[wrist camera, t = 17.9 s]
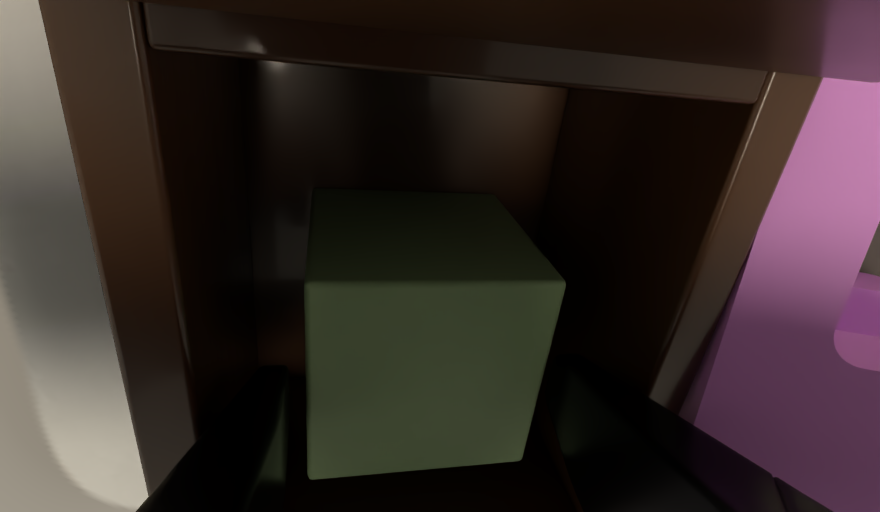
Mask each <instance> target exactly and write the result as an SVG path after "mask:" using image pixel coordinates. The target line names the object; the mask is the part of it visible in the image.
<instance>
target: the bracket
mask: <svg viewBox="0 0 880 512" xmlns="http://www.w3.org/2000/svg"><path fill="white" fill-rule="evenodd" d="M879 222H880V82H873V83H870V82H861V81H852V80H843V79H834V78H825V77H824V78H823V80H822V82H821V85H820V87H819V89H818V92H817V94H816V96H815V99H814V101H813V103H812V106H811V108H810V110H809V113H808V115H807V117H806V120H805V122H804V124H803V127H802V129H801V131H800V134H799V136H798V138H797V140H796V143H795V145H794V147H793V150H792V152H791V154H790V157H789V159H788V161H787V164H786V166H785V168H784V171H783V173H782V175H781V178H780V180H779V182H778V185H777V187H776V189H775V192H774V194H773V196H772V199H771V201H770V203H769V206H768V208H767V210H766V213H765V215H764V217H763V220H762V222H761V224H760V227H759V229H758V231H757V233H756V236H755V238H754V240H753V243H752V245H751V247H750V250H749V252H748V254H747V257H746V259H745V261H744V264H743V266H742V268H741V271H740V273H739V275H738V278H737V280H736V282H735V285H734V287H733V289H732V292H731V294H730V296H729V299H728V301H727V303H726V306H725V308H724V310H723V313H722V315H721V317H720V319H719V322H718V324H717V326H716V329H715V331H714V333H713V336H712V338H711V340H710V343H709V345H708V347H707V350H706V352H705V354H704V357H703V359H702V361H701V364H700V366H699V368H698V371H697V373H696V375H695V378H694V380H693V382H692V385H691V387H690V389H689V392H688V394H687V396H686V399H685V401H684V403H683V406H682V408H681V410H680V412H679V415H678V416H680V417H681V418H683V419H685V420H686V421H688V422H689V423H691V424H693V425H694V426H696V427H697V428H699V429H701V430H702V431H704V432H705V433H707V434H709V435H710V436H712V437H713V438H715V439H717V440H718V441H720V442H722V443H723V444H725V445H726V446H728V447H730V448H731V449H733V450H734V451H736V452H738V453H739V454H741V455H742V456H744V457H746V458H747V459H749V460H750V461H752V462H754V463H755V464H757V465H758V466H760V467H762V468H763V469H765V470H767V471H768V472H770V473H771V474H772V476H773V477H778V478H780V479H781V480H783V481H784V482H786V483H788V484H789V485H791V486H792V487H794V488H796V489H797V490H799V491H800V492H802V493H804V494H805V495H807V496H808V497H810V498H812V499H813V500H815V501H817V502H818V503H820V504H822V505H823V506H825V507H827V508H828V509H830V510H832V511H833V512H880V277H879V276H876V275H872V274H867V273H861V272H859V270H860V268H861V265H862V263H863V261H864V258H865V256H866V253H867V251H868V248H869V246H870V244H871V241H872V239H873V236H874V234H875V231H876V229H877V227H878V224H879Z"/></svg>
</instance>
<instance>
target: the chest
mask: <svg viewBox="0 0 880 512" xmlns="http://www.w3.org/2000/svg"><path fill="white" fill-rule="evenodd" d="M39 5H40V9H41V14H42V18H43V23H44V27H45V32H46V36H47V41H48V45H49V50H50V54H51V59H52V63H53V68H54V72H55V77H56V81H57V86H58V90H59V95H60V99H61V104H62V108H63V113H64V117H65V122H66V126H67V131H68V135H69V140H70V144H71V149H72V153H73V158H74V162H75V167H76V171H77V176H78V180H79V185H80V189H81V194H82V198H83V203H84V207H85V212H86V216H87V221H88V225H89V230H90V234H91V239H92V243H93V248H94V252H95V257H96V261H97V266H98V270H99V275H100V279H101V284H102V288H103V293H104V297H105V302H106V306H107V311H108V315H109V320H110V324H111V329H112V333H113V338H114V342H115V347H116V351H117V356H118V360H119V365H120V369H121V374H122V378H123V383H124V387H125V392H126V396H127V401H128V405H129V410H130V414H131V419H132V423H133V428H134V432H135V437H136V441H137V446H138V450H139V455H140V459H141V464H142V468H143V473H144V477H145V482H146V486H147V491H148V495H149V496H150V495H151V493H152V492H153V491H154V490H155V489H156V488H157V486H158V485H159V484H160V483H161V482H162V481H163V479H164V478H165V477H166V476H167V475H168V474H169V472H170V471H171V470H172V469H173V468H174V467H175V465H176V464H177V463H178V462H179V461H180V460H181V458H182V457H183V456H184V455H185V454H186V453H187V451H188V450H189V449H190V448H191V447H192V446H193V444H194V443H195V442H196V441H197V440H198V439H199V437H200V436H201V435H202V434H203V433H204V432H205V430H206V429H207V428H208V427H209V426H210V425H211V423H212V422H213V421H214V420H215V419H216V418H217V416H218V415H219V414H220V413H221V412H222V411H223V409H224V408H225V407H226V406H227V405H228V404H229V402H230V401H231V400H232V399H233V398H234V397H235V395H236V394H237V393H238V392H239V391H240V390H241V388H242V387H243V386H244V385H245V384H246V383H247V381H248V380H249V379H250V378H251V377H252V376H253V374H254V373H255V372H256V371H257V370H258V369H259V368H260V367H261V366H265V365H286V366H287V367H288V371H289V395H290V420H289V437H288V454H287V472H286V489H285V502H284V512H583V509H582V507H581V505H580V502H579V500H578V498H577V495H576V493H575V490H574V488H573V485H572V483H571V480H570V477H569V474H568V472H567V469H566V465H565V462H564V459H563V456H562V452H561V449H560V446H559V443H558V440H557V436H556V433H555V430H554V427H553V423H552V420H551V417H550V414H549V411H548V407H547V404H546V399H545V390H546V385H547V381H548V378H549V374H550V370H551V366H552V362H553V360H554V358H555V356H556V355H558V354H572V353H576V354H580V355H582V356H583V357H585V358H586V359H588V360H590V361H591V362H593V363H595V364H596V365H598V366H599V367H601V368H603V369H604V370H606V371H607V372H609V373H611V374H612V375H614V376H615V377H617V378H619V379H620V380H622V381H623V382H625V383H627V384H628V385H630V386H631V387H633V388H635V389H636V390H638V391H640V392H641V393H643V394H644V395H646V396H648V397H649V398H651V399H652V400H654V401H656V402H657V403H659V404H660V405H662V406H664V407H665V408H667V409H668V410H670V411H672V412H673V413H675V414H676V415H679V412H680V410H681V408H682V406H683V403H684V401H685V399H686V396H687V394H688V392H689V389H690V387H691V385H692V382H693V380H694V378H695V375H696V373H697V371H698V368H699V366H700V364H701V361H702V359H703V357H704V354H705V352H706V350H707V347H708V345H709V343H710V340H711V338H712V336H713V333H714V331H715V329H716V326H717V324H718V322H719V319H720V317H721V315H722V313H723V310H724V308H725V306H726V303H727V301H728V299H729V296H730V294H731V292H732V289H733V287H734V285H735V282H736V280H737V278H738V275H739V273H740V271H741V268H742V266H743V264H744V261H745V259H746V257H747V254H748V252H749V250H750V247H751V245H752V243H753V240H754V238H755V236H756V233H757V231H758V229H759V227H760V224H761V222H762V220H763V217H764V215H765V213H766V210H767V208H768V206H769V203H770V201H771V199H772V196H773V194H774V192H775V189H776V187H777V185H778V182H779V180H780V178H781V175H782V173H783V171H784V168H785V166H786V164H787V161H788V159H789V157H790V154H791V152H792V150H793V147H794V145H795V143H796V140H797V138H798V136H799V134H800V131H801V129H802V127H803V124H804V122H805V120H806V117H807V115H808V113H809V110H810V108H811V106H812V103H813V101H814V99H815V96H816V94H817V92H818V89H819V87H820V85H821V82H822V80H823V78H824V77H816V76H807V75H798V74H789V73H780V72H771V71H762V70H752V69H743V68H734V67H725V66H716V65H707V64H698V63H689V62H680V61H671V60H662V59H653V58H644V57H634V56H625V55H616V54H607V53H598V52H589V51H580V50H571V49H562V48H553V47H544V46H535V45H526V44H516V43H507V42H498V41H489V40H480V39H471V38H462V37H453V36H444V35H435V34H426V33H417V32H407V31H398V30H389V29H380V28H371V27H362V26H353V25H344V24H335V23H326V22H317V21H308V20H299V19H289V18H280V17H271V16H262V15H253V14H244V13H235V12H226V11H217V10H208V9H199V8H190V7H181V6H171V5H162V4H153V3H144V2H135V1H126V0H39ZM315 188H330V189H358V190H386V191H414V192H443V193H471V194H493V195H495V196H496V197H497V199H498V200H499V201H500V202H501V203H502V205H503V206H504V207H505V208H506V210H507V211H508V212H509V213H510V214H511V216H512V217H513V218H514V219H515V220H516V222H517V223H518V224H519V225H520V227H521V228H522V229H523V230H524V231H525V233H526V234H527V235H528V236H529V237H530V239H531V240H532V241H533V242H534V244H535V245H536V246H537V247H538V248H539V250H540V251H541V252H542V253H543V254H544V256H545V257H546V258H547V259H548V261H549V262H550V263H551V264H552V265H553V267H554V268H555V269H556V270H557V271H558V273H559V274H560V275H561V276H562V278H563V279H564V280H565V283H566V288H565V292H564V296H563V300H562V304H561V307H560V311H559V315H558V319H557V323H556V327H555V331H554V335H553V339H552V343H551V347H550V351H549V355H548V359H547V363H546V367H545V370H544V374H543V378H542V382H541V386H540V390H539V394H538V398H537V402H536V406H535V410H534V414H533V418H532V422H531V426H530V430H529V433H528V437H527V441H526V445H525V449H524V453H523V457H522V459H521V460H520V461H515V462H504V463H493V464H482V465H471V466H460V467H448V468H437V469H426V470H415V471H404V472H393V473H382V474H371V475H360V476H349V477H338V478H327V479H315V480H312V479H309V477H308V475H307V429H306V370H305V310H304V281H305V269H306V257H307V245H308V233H309V221H310V209H311V197H312V191H313V189H315Z"/></svg>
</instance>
